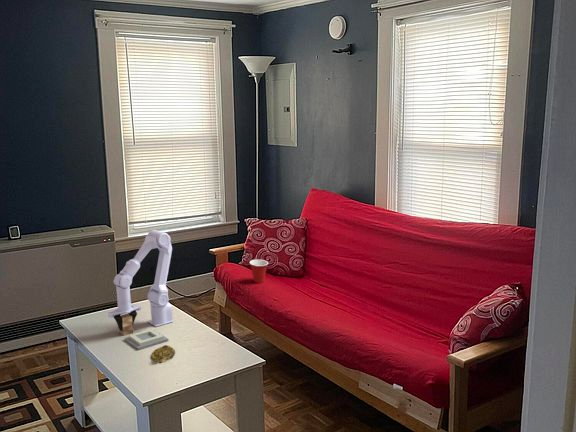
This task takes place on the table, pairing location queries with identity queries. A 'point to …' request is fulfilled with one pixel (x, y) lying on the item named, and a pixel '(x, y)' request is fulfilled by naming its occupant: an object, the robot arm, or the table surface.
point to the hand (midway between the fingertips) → (126, 328)
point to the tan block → (126, 324)
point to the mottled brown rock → (163, 354)
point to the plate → (145, 339)
